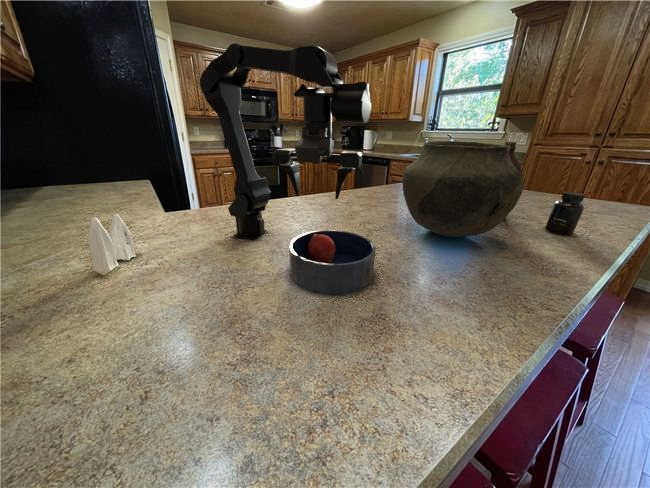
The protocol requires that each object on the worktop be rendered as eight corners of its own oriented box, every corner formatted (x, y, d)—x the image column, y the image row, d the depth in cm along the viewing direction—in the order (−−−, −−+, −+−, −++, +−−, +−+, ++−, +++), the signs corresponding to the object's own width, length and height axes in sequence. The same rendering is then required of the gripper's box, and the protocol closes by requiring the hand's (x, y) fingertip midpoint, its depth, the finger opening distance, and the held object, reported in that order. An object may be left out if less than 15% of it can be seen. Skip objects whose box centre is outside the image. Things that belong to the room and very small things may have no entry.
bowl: (277, 286, 50) (275, 258, 48) (304, 249, 66) (304, 226, 63) (369, 301, 47) (372, 270, 44) (375, 258, 62) (377, 234, 60)
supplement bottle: (548, 233, 80) (563, 194, 75) (541, 226, 86) (555, 189, 81) (577, 237, 78) (594, 197, 73) (567, 230, 84) (583, 192, 79)
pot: (489, 267, 59) (525, 148, 49) (376, 228, 81) (386, 140, 71) (527, 237, 77) (559, 145, 67) (426, 212, 99) (439, 139, 89)
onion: (334, 250, 53) (318, 221, 57) (312, 266, 54) (297, 237, 58) (345, 258, 58) (329, 231, 62) (324, 272, 59) (310, 245, 63)
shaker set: (112, 279, 51) (93, 225, 47) (87, 280, 51) (66, 225, 46) (141, 252, 62) (128, 206, 58) (121, 253, 61) (107, 206, 57)
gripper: (258, 120, 50) (263, 202, 56) (358, 122, 46) (352, 210, 52) (281, 122, 60) (283, 191, 66) (364, 123, 56) (359, 197, 62)
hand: (317, 197), depth 61 cm, fingers open, 9 cm apart
